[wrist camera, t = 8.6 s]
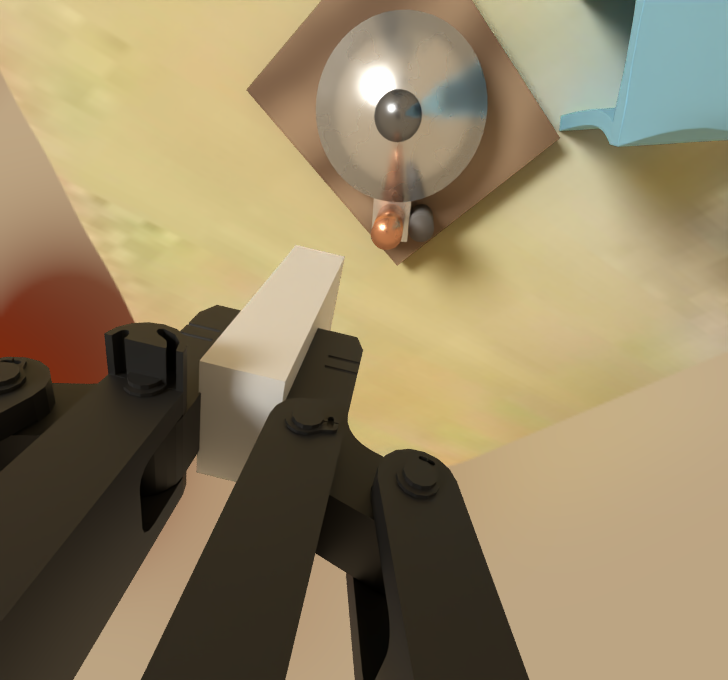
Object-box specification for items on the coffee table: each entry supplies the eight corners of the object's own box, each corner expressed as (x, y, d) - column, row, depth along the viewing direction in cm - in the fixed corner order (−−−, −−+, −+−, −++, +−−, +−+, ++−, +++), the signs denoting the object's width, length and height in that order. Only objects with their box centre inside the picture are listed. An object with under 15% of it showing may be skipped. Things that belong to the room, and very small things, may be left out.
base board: (254, 90, 29) (224, 89, 25) (407, -91, 24) (404, -132, 20) (398, 259, 34) (394, 283, 30) (553, 135, 29) (577, 143, 24)
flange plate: (321, 9, 25) (297, -11, 21) (499, 18, 25) (518, 0, 20) (319, 228, 31) (301, 252, 27) (462, 240, 31) (469, 267, 26)
